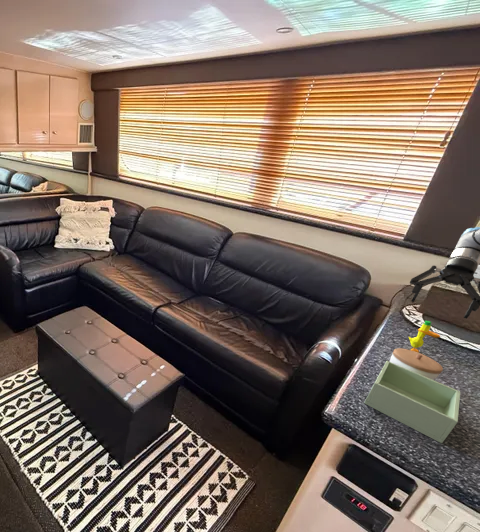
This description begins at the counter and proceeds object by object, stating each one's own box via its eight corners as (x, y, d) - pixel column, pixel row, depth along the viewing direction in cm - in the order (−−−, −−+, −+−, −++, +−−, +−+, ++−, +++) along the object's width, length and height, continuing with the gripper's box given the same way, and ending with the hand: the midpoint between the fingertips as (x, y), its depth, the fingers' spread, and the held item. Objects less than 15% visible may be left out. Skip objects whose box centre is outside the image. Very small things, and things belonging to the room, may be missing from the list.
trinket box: (425, 397, 91) (442, 370, 88) (378, 374, 99) (392, 349, 96) (433, 384, 97) (449, 359, 93) (388, 364, 105) (401, 340, 101)
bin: (446, 411, 86) (460, 391, 84) (441, 443, 75) (457, 421, 73) (376, 379, 97) (386, 360, 94) (363, 403, 86) (375, 382, 83)
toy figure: (428, 354, 113) (446, 326, 109) (427, 358, 111) (445, 328, 106) (403, 344, 118) (419, 317, 113) (401, 348, 116) (418, 319, 111)
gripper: (510, 280, 112) (486, 328, 109) (414, 257, 130) (391, 298, 126) (520, 269, 107) (496, 319, 104) (419, 247, 125) (395, 289, 121)
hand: (438, 308), depth 115 cm, fingers open, 13 cm apart
